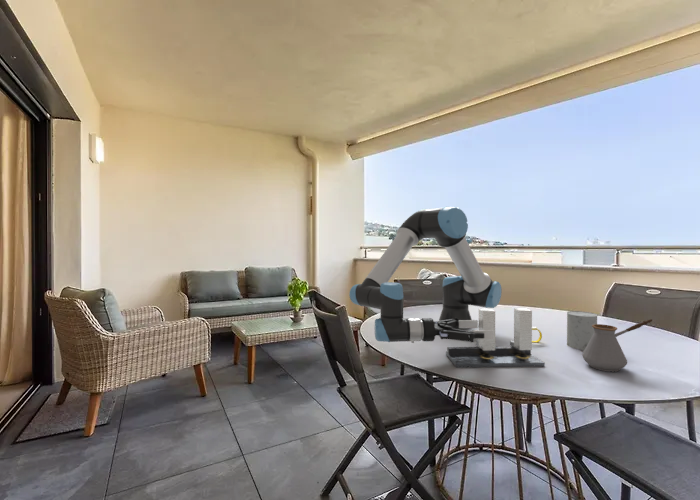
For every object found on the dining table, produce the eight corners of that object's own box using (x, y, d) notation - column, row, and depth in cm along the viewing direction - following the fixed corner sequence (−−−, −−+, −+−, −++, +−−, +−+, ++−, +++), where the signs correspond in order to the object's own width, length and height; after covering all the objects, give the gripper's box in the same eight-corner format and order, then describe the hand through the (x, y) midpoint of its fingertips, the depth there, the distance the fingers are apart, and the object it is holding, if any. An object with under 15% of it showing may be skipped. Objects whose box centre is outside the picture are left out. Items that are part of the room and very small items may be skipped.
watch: (526, 343, 136) (525, 328, 135) (524, 341, 138) (523, 326, 138) (543, 343, 135) (542, 327, 135) (540, 340, 138) (539, 326, 137)
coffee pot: (599, 374, 104) (599, 324, 103) (573, 361, 115) (574, 316, 115) (670, 373, 104) (671, 323, 103) (638, 360, 115) (638, 315, 115)
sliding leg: (474, 349, 123) (474, 306, 122) (485, 349, 123) (485, 306, 122) (483, 357, 115) (483, 311, 114) (495, 357, 115) (495, 311, 114)
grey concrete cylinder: (564, 346, 130) (564, 314, 130) (569, 341, 137) (569, 310, 137) (594, 352, 124) (595, 317, 123) (599, 346, 131) (599, 313, 130)
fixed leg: (508, 349, 123) (508, 306, 122) (519, 348, 123) (520, 306, 122) (519, 356, 115) (519, 310, 114) (531, 356, 114) (532, 310, 114)
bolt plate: (446, 354, 123) (445, 345, 122) (525, 353, 123) (525, 344, 122) (456, 367, 111) (456, 357, 110) (544, 366, 111) (544, 356, 110)
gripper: (414, 331, 128) (471, 330, 129) (430, 353, 103) (501, 352, 104) (414, 310, 128) (471, 310, 128) (429, 328, 103) (501, 327, 103)
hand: (485, 329), depth 116 cm, fingers open, 13 cm apart
